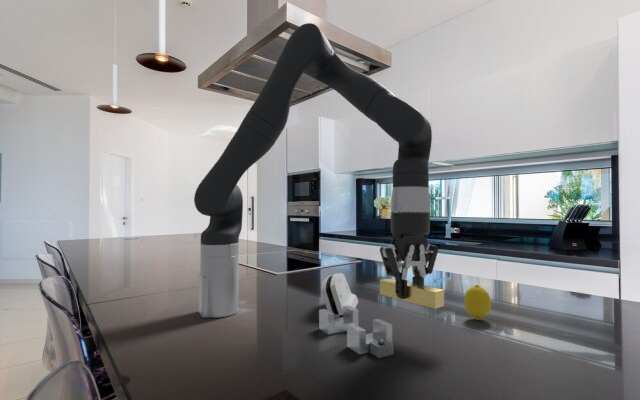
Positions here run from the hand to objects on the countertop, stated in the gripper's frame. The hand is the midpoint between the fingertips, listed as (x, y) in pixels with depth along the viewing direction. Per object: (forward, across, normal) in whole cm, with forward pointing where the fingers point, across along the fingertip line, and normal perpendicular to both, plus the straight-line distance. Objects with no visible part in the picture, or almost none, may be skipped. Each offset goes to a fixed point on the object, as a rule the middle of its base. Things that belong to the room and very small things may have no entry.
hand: (409, 296), depth 67 cm
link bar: (+1, 0, 0) cm, 1 cm away
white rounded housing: (+9, +1, -24) cm, 26 cm away
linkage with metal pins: (+8, +10, -6) cm, 14 cm away
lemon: (+8, -22, -1) cm, 23 cm away
